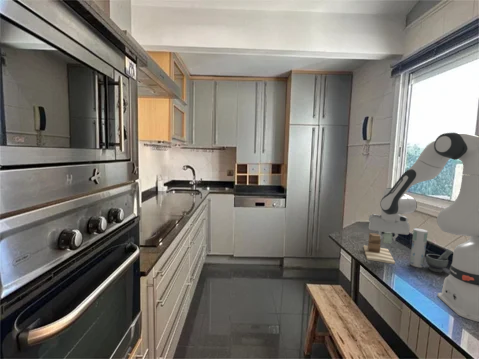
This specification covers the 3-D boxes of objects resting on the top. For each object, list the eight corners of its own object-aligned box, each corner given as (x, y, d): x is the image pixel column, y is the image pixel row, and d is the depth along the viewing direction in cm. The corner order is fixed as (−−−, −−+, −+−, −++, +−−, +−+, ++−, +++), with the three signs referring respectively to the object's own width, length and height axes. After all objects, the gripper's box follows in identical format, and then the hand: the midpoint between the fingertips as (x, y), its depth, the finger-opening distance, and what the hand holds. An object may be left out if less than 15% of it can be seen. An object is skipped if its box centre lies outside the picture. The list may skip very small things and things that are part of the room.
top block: (380, 244, 158) (381, 236, 158) (371, 243, 159) (372, 235, 158) (376, 241, 163) (377, 233, 163) (368, 240, 164) (369, 233, 163)
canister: (392, 244, 146) (393, 234, 146) (383, 243, 148) (384, 233, 147) (390, 242, 150) (391, 232, 150) (381, 241, 152) (382, 231, 152)
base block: (379, 252, 158) (380, 244, 157) (368, 251, 160) (369, 243, 159) (378, 249, 163) (379, 241, 163) (367, 247, 166) (368, 240, 165)
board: (394, 264, 145) (395, 262, 145) (366, 259, 150) (367, 257, 149) (387, 250, 165) (387, 249, 165) (363, 247, 170) (363, 245, 170)
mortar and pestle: (427, 271, 137) (430, 249, 136) (421, 264, 146) (424, 243, 145) (453, 275, 133) (456, 253, 132) (446, 268, 142) (448, 247, 141)
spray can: (423, 268, 140) (428, 232, 138) (409, 265, 144) (413, 230, 142) (423, 264, 146) (427, 229, 144) (409, 261, 149) (413, 227, 147)
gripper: (370, 214, 148) (368, 238, 149) (411, 219, 142) (409, 244, 142) (368, 213, 154) (366, 235, 155) (408, 217, 147) (406, 241, 148)
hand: (387, 239), depth 149 cm, fingers closed on canister, 5 cm apart
